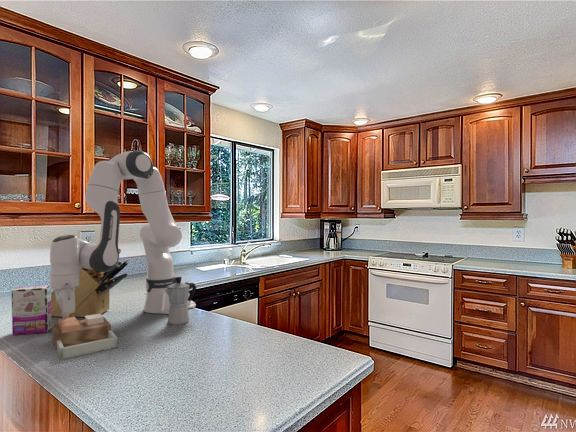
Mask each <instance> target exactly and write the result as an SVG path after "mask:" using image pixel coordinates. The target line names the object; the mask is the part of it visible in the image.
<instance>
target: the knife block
mask: <svg viewBox="0 0 576 432" xmlns="http://www.w3.org/2000/svg"><path fill="white" fill-rule="evenodd" d="M118 250H119V255H120V253H122V249H120V248H118ZM127 265H129V261H128V260H125V261H124V262H121V261H118V263H117V265H116V266H115V267H114V268H113V269H112V270H110V271H108V272H99V271H95V270H91V269H86V268H80V270H79V286H77V287H75V289H76V290H75V291H74V294H75V312H74V313H69V317H75V318H76V317H79V318H80V317H83V318H85V316H88V315H94V314H101V315H102V314H104V313H106V312H107V311H108V310H110V295H111V294H110V290H111V289H112V288H114V287H115V286H116V285H118V284H119V283H120V282H121V281H122V280H123V279H124V278H125V279H126V278H127V277H128V273H123V274H120V275H118V274H119V273H120V272H121V271H122V270H123V269H124V268H126V266H127ZM117 275H118V276H117ZM51 310H52V317H62V313H61V309H60V307H59V305H58V303H57V301H56V297H55V289H54V290H53V289H52V290H51Z"/></svg>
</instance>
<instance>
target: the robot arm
mask: <svg viewBox="0 0 576 432" xmlns="http://www.w3.org/2000/svg"><path fill="white" fill-rule="evenodd" d="M123 180H133V181H134V182H135V184H136V189H137V193H138V198H139V203H140V207H141V208H140V209H141V212H142V214H143V215H144V216H145V218H146V221H147V222H148V223H144V225H142V227H141V228H140V231H139V238H140V240H141V241H142V243H143V248H144V252H145V258H146V272H147V273H146V279H145V280H146V281H145V290H146V296H145V301H144V307H143V312H145V313H147V314H148V313H149V314H163V315H169V309H170V305H171V303H170V302H169V296H168V294H167V292H166V291H165V289H167V286H169V285H172V284H175V283H176V277H177V276H174V259H173V257H172V255H171V252H170V249H169V248H174V247H177V246H178V245H179V244H180V243H181V241H182V238H183V233H182V230H181V229H180V227H179V226H178V225H177V223H176V221H175V219H174V218H173V215H172V212H171V210H170V207H169V205H168V204H169V203H168V199H167V193H166V188H165V184H164V180H163V178H162V175H161V173H160V170H159V169H158V168H157V167H155V165H154V163H153V160H152V158H151V157H150V155H149V154H148V153H147V152H146V151H145V152H144V151H143V150H131V151H124V152H122V153H118V154H114V155H112V156H111V157H109V158H108V159H107V160H101V161H98V162H96V163H95V164H94V166H93V168H92V170H91V172H90V176H89V178H88V181H87V186H86V190H85V202H86V204H87V206H88V208H90V209H91V210H92V211H94V212H95V213H97V214H98V215H99V217H100V220H101V221H100V222H101V224H100V225H101V226H100V234H99V241H98V243H95V242H89V241H86V240H83V239H81V238H80V237H78V236H77V235H75V234H66V235H60V236H57V237H55V238H54V239H52V241H51V245H50V251H49V264H50V267H51V268H50V272H49V283H50V284H49V286H50V288H51V290H53V289H55V297H56V301H57V303H58V305H59V307H60V309H61V313H62V316H61V319H62V318H69V317H70V316H69V313H74V312H75V294H74V291H75V290H76V289H75V287H77V286H79V270H80V268H86V269H91V270H95V271H99V272H108V271H110V270H112V269H113V268H114V267H115V266H116V265H117V263H118V262H119V260H120V254H119V250H118V249H119V234H120V222H121V209H120V206H119V204H118V203H119V201H118V200H119V199H118V198H119V192H120V185H121V182H122V181H123ZM189 295H190V294H189ZM189 295H188V298H189ZM186 304H187V308H188V310H190V309H194V308H196V305H197V304H196V302H195V301H193V300H191V301H187V302H186Z"/></svg>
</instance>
